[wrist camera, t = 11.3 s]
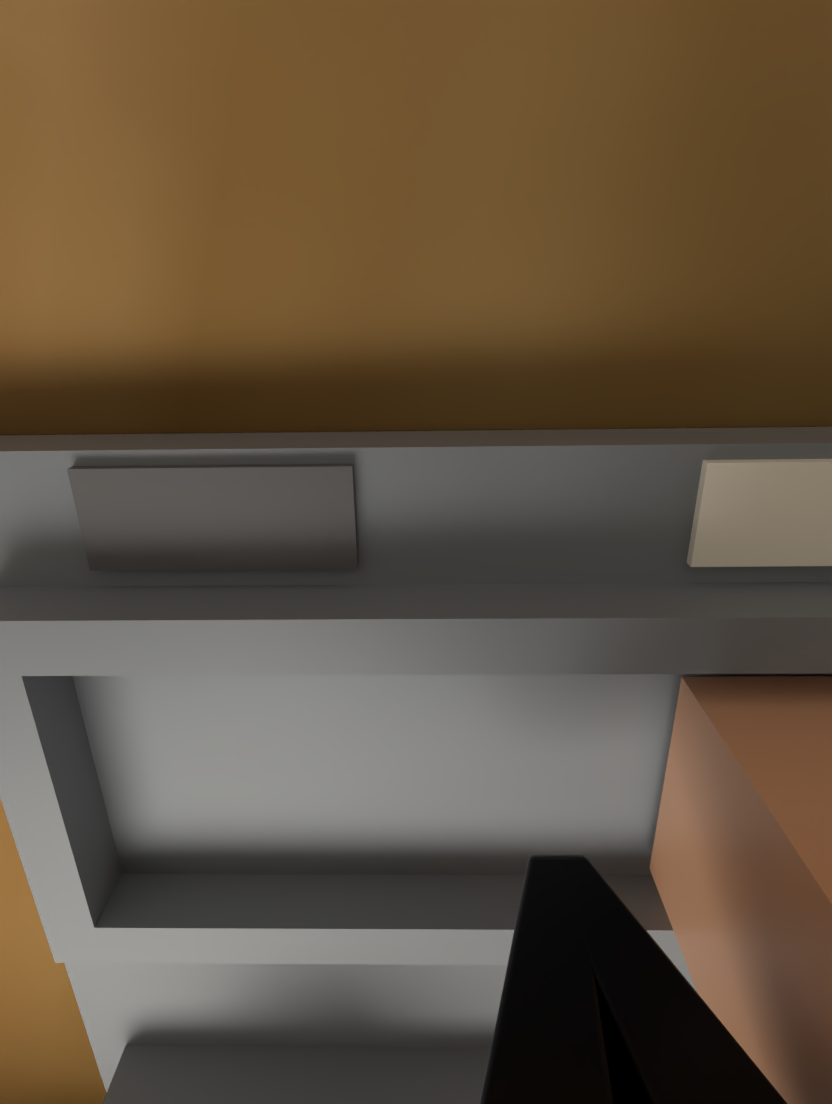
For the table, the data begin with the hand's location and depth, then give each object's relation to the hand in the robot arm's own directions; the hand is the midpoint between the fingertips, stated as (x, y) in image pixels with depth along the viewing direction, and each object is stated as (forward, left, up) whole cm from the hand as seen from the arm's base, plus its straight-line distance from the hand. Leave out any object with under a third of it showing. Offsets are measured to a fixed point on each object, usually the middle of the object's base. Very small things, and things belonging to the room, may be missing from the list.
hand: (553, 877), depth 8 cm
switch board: (-5, 0, -3) cm, 6 cm away
